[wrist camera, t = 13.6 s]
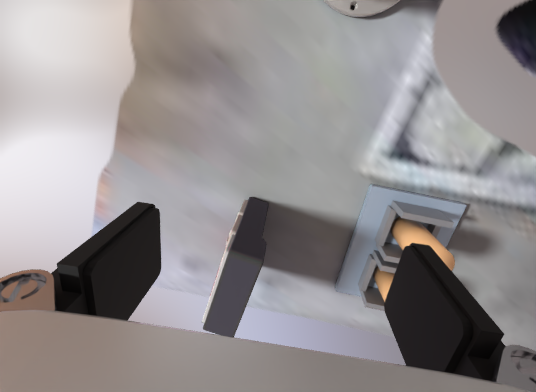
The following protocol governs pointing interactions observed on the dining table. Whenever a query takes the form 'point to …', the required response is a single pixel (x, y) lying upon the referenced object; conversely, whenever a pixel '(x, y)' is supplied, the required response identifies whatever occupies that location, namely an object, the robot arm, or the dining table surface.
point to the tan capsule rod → (419, 238)
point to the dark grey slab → (237, 270)
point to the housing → (389, 239)
